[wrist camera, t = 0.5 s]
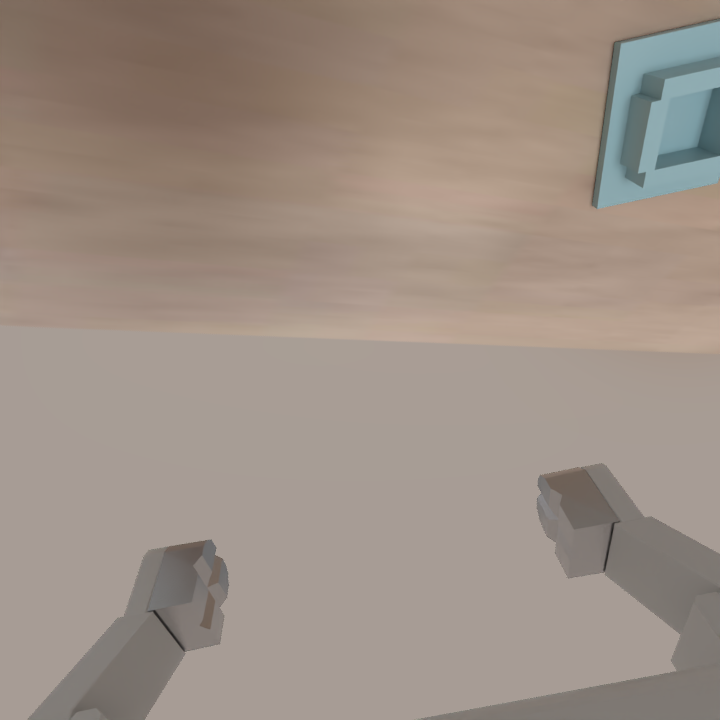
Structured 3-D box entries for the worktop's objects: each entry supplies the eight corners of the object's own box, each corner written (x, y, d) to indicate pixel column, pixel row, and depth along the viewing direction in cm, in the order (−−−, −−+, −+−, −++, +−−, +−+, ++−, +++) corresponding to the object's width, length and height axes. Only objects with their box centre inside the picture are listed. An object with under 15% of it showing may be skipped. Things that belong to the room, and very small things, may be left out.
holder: (614, 42, 39) (642, 47, 36) (760, 9, 39) (801, 11, 35) (592, 205, 48) (612, 220, 45) (710, 179, 47) (739, 193, 44)
